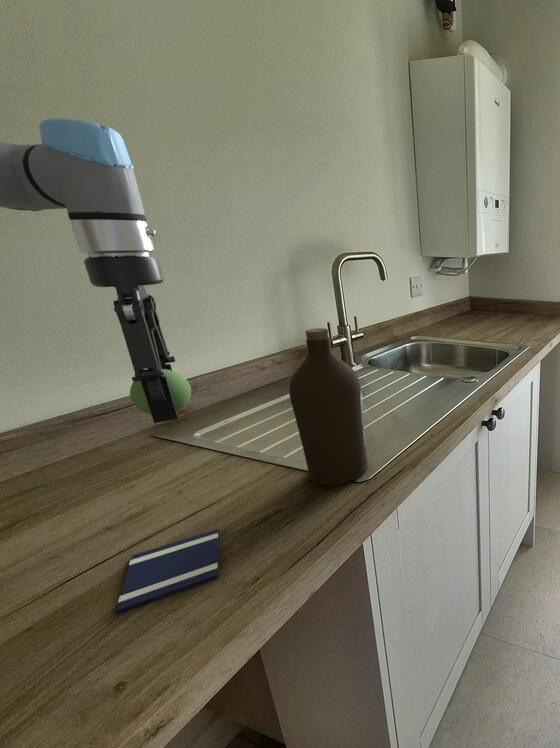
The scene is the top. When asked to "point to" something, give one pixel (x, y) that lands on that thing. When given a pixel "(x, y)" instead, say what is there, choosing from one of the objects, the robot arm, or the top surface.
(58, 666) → the top surface
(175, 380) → the mango
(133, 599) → the towel
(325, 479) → the olive oil
